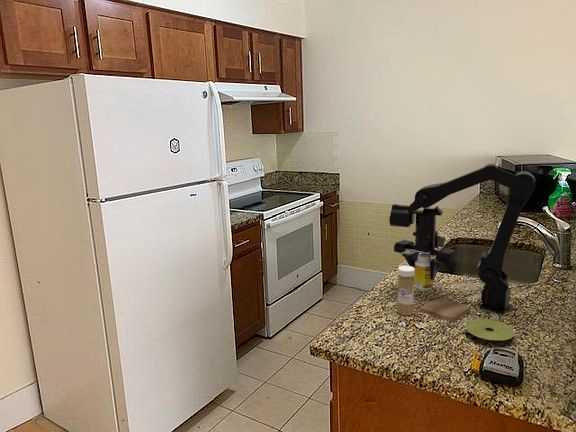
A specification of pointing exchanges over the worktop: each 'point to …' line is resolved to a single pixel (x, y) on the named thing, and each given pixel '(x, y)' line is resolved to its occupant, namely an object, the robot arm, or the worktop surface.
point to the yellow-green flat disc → (489, 329)
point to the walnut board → (445, 309)
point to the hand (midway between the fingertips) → (423, 277)
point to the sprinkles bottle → (405, 290)
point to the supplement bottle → (423, 272)
